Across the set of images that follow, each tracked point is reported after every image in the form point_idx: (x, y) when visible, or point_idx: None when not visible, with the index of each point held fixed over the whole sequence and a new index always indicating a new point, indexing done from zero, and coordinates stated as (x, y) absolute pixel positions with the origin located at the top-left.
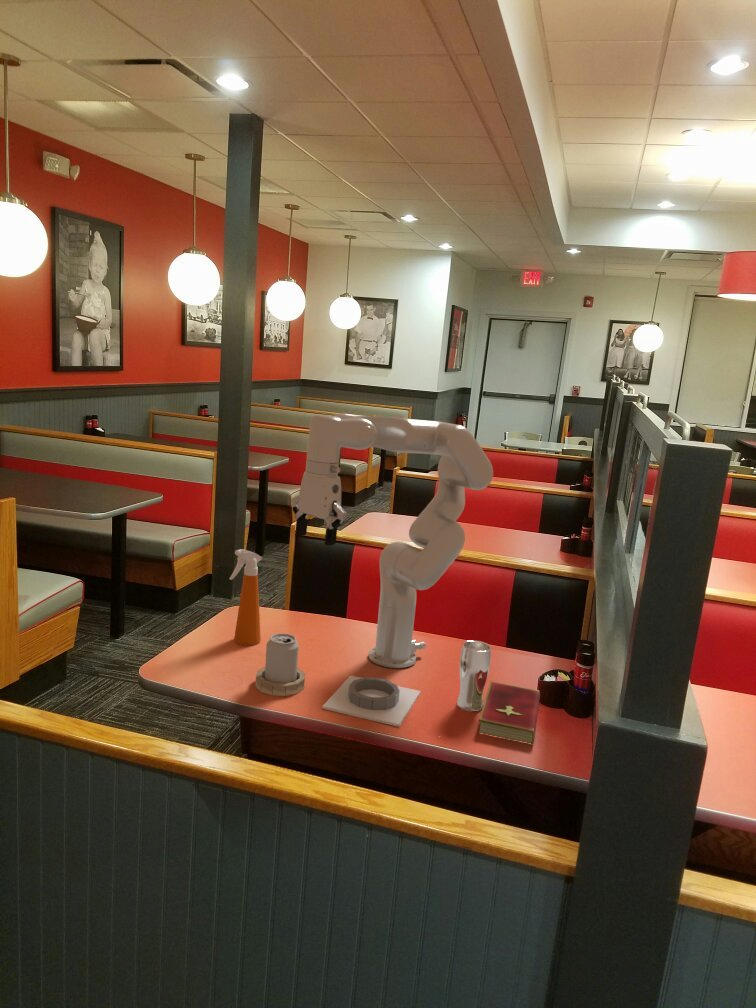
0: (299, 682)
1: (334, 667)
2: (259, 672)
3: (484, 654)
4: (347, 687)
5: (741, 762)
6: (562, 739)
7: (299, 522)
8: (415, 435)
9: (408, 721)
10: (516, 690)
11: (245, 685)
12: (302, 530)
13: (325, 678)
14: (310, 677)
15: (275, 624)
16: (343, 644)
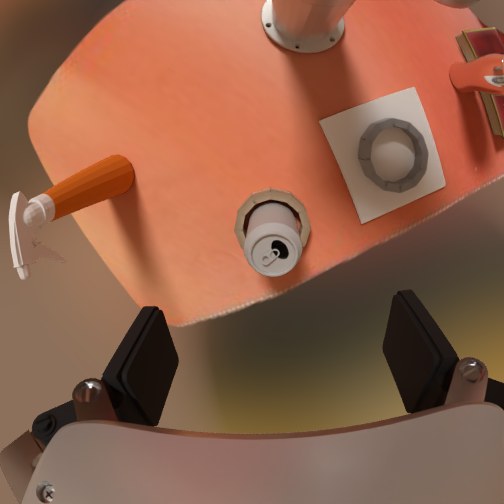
0: (309, 222)
1: (272, 113)
2: None
3: None
4: (346, 156)
5: None
6: None
7: (158, 416)
8: None
9: (444, 165)
10: (487, 40)
11: (245, 260)
12: (161, 354)
13: (296, 153)
14: (279, 170)
15: (87, 104)
16: (206, 44)
